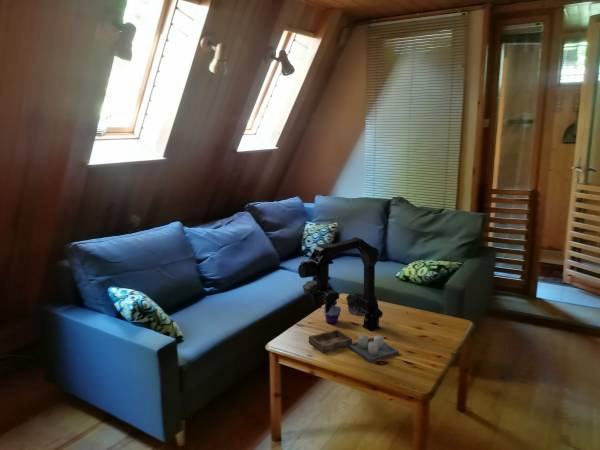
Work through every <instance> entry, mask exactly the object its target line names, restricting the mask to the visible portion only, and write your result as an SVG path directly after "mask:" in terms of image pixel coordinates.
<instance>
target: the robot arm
mask: <svg viewBox="0 0 600 450" xmlns="http://www.w3.org/2000/svg"><path fill="white" fill-rule="evenodd" d="M353 250H357V251H358V252H359V256H360V260H361V262H362V264H363V296H362V298H359V306H360V309H361V310H362V312H363V313H365V314H366V315H364V318H363V324H362V325H361V326H362V327H363V328H364V329H366V330H368V331H370V332H372V331H375V330H379V329H381V328H382V326H381V325H380V318H382V317H383V315H384V314H383V311H382V310H381V309H380V308H379V302H378V299H377V297H376V295H375V294H376V293H375V288H376V287H375V285H376V284H375V283H376V281H375V279H376V278H375V277H376V275H375V274H376V273H375V272H376V265H377V262H378V261H379V253H380V251H379V249H378V248H377V247H375V246H372V245H371V244H369V243H368V242H366V241H365V240H364V239H363V238H360V237H352V238H350V239H347V240H343V241H339V242H336V243H323V244H322V243H320V244H317V245H315V247H314V249H313V251H312V252H311V254H310V256H309V258H308V259H307V260H304V261H301V262H300V264H299V266H298V268H297V272H298V276H299V277H300V278H301V279H304V278H305V279H306V278H311V277H312V280H309V281H306V282H305V284H303V285H302V288H303V291H304V293H306V294H307V295H309V296H311V299H312V301H313V305H314V306H318V302H319V299H320V295H321V294H322V299H321V300H323V301H324V307H325V311H326V313H328V312H329V310H330V308H331V307H332V305H333V303H334V302H335V300H336V301H338V300H339V299H340V293H339V292H337V291H336V290H335V289H331V286H330V285H329V281H330V280H332V279H331V277H330V276H329V275H330V271H329V270H330V265H333V264H334V261H332V259H333V258H334V257H335V256H337V255H338V254H342V253H345V252H349V251H353ZM379 325H380V326H379Z"/></svg>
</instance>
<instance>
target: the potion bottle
mask: <svg viewBox="0 0 600 450" xmlns="http://www.w3.org/2000/svg"><path fill="white" fill-rule="evenodd" d="M337 304H338V300H335V302H334V303H333V305H332V307H331V308H330V310H329V312H328V313H326V311H325V306H323V312H324V315H325V322H326V324H328V325H336V324H337V323H338V320H339V316H341V311H342V309H341V307H340V306H338V305H337Z"/></svg>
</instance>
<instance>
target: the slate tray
mask: <svg viewBox="0 0 600 450" xmlns="http://www.w3.org/2000/svg"><path fill="white" fill-rule="evenodd" d="M369 342H374V337H370V338H368V343H369ZM368 343H367V348H366V349H360V348H358V341H355V342H352V343H351V344H348V347H347V348H348V349H350V350H351V351H352V352H354V353H356V354H357V355H358V356H359V357H361V358H363V359H364V360H365V361H367V362H368V363H370V364H371V363H374V362H377V361H380V360H383V359H384V360H385V359H387V358H390V357H393V356H396V355H399V353H400V352H399V350H398V349H396V348H395V347H393V346H391V345H390V344H389V343H387V342H386V341H383V349H380V350H378V355H377V356H370V355H368Z"/></svg>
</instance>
